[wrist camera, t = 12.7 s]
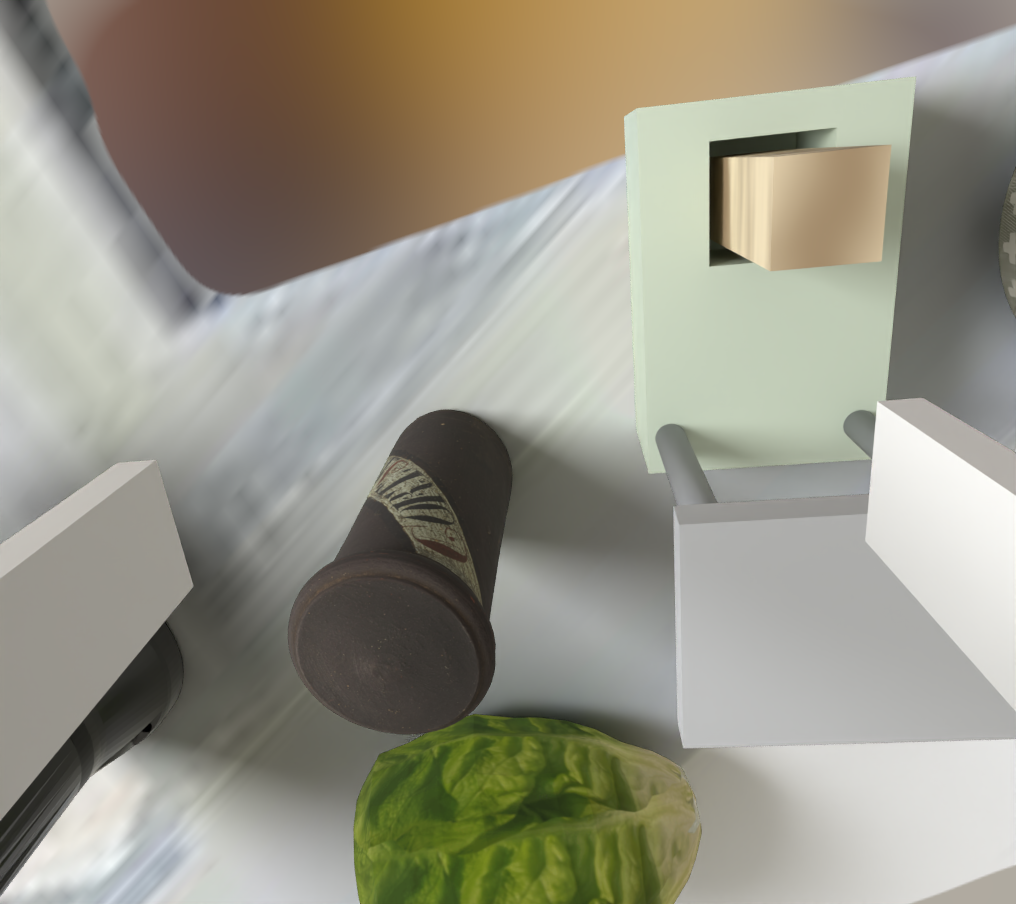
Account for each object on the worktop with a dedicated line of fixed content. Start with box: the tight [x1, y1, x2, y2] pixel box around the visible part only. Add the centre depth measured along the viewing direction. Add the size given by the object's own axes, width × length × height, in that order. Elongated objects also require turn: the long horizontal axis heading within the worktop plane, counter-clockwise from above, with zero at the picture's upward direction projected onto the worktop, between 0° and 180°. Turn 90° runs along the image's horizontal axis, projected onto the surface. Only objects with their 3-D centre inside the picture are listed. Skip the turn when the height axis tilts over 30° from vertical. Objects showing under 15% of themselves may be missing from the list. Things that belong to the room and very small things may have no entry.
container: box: [288, 410, 512, 734], centre depth 38 cm, size 9×9×20 cm
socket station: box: [624, 77, 1016, 748], centre depth 31 cm, size 20×14×25 cm
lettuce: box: [354, 714, 702, 904], centre depth 49 cm, size 18×23×19 cm
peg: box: [709, 145, 891, 271], centre depth 33 cm, size 4×4×14 cm
